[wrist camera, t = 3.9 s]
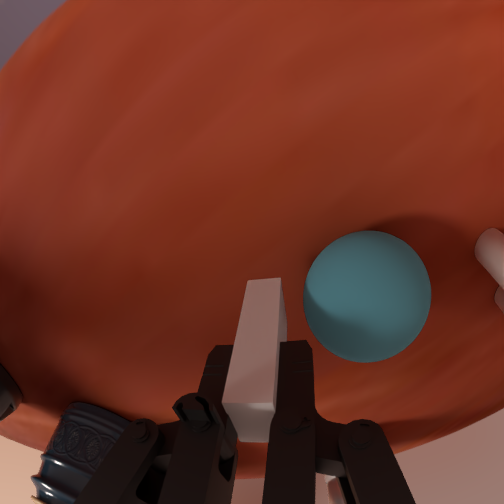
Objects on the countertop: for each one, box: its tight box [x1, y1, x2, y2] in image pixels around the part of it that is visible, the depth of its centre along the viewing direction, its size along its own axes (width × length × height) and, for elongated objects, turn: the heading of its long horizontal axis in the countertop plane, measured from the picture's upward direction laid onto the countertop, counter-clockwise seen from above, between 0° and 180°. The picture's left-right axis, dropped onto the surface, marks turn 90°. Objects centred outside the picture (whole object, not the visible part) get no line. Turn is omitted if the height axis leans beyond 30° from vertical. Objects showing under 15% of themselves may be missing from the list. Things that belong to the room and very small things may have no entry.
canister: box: [31, 402, 131, 504], centre depth 22 cm, size 13×13×18 cm
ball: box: [303, 231, 431, 363], centre depth 13 cm, size 6×6×6 cm
